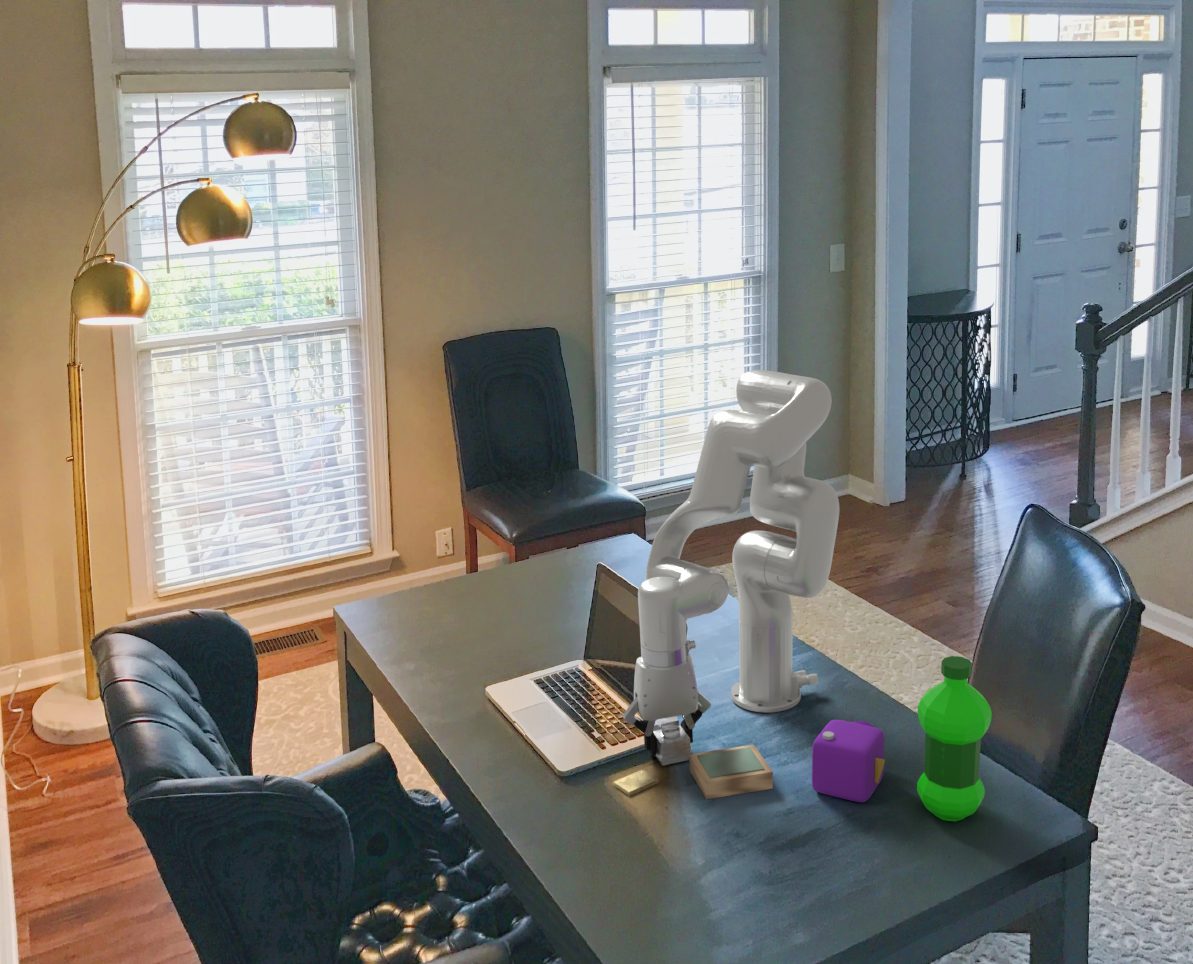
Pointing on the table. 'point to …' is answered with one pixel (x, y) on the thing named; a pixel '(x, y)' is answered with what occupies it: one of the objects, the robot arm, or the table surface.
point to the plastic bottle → (953, 742)
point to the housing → (671, 741)
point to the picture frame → (730, 771)
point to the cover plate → (635, 782)
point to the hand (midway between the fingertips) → (668, 748)
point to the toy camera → (848, 760)
